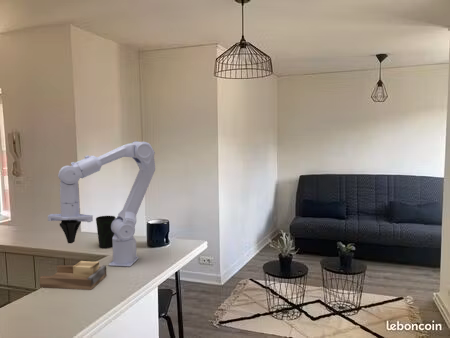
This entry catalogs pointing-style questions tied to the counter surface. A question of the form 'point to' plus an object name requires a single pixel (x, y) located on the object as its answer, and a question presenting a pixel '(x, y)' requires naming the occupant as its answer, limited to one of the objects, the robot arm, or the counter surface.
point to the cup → (105, 231)
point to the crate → (85, 269)
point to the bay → (72, 279)
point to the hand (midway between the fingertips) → (71, 242)
